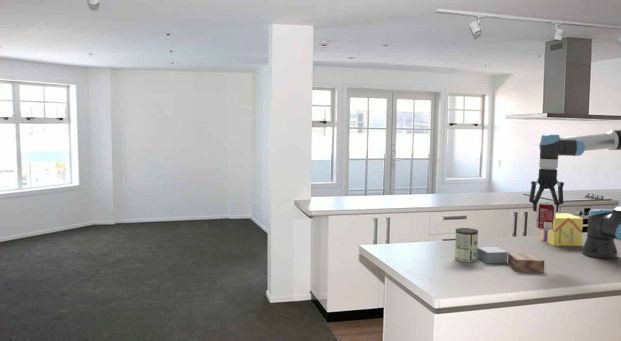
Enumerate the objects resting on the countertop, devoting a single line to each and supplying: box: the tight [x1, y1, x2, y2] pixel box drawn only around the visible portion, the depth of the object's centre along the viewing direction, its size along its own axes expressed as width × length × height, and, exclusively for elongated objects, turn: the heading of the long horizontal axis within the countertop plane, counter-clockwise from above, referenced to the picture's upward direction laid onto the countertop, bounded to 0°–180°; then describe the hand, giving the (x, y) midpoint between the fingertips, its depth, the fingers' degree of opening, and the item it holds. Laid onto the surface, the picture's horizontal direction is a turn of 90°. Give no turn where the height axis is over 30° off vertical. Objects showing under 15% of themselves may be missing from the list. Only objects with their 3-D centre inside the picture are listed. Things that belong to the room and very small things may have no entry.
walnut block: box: [507, 252, 545, 273], centre depth 221 cm, size 12×12×5 cm
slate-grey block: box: [477, 246, 509, 264], centre depth 234 cm, size 10×10×5 cm
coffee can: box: [454, 227, 479, 263], centre depth 235 cm, size 10×10×14 cm
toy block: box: [540, 212, 584, 247], centre depth 271 cm, size 15×15×15 cm
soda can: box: [535, 201, 554, 231], centre depth 224 cm, size 7×7×12 cm
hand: (544, 218), depth 224 cm, fingers closed on soda can, 7 cm apart
